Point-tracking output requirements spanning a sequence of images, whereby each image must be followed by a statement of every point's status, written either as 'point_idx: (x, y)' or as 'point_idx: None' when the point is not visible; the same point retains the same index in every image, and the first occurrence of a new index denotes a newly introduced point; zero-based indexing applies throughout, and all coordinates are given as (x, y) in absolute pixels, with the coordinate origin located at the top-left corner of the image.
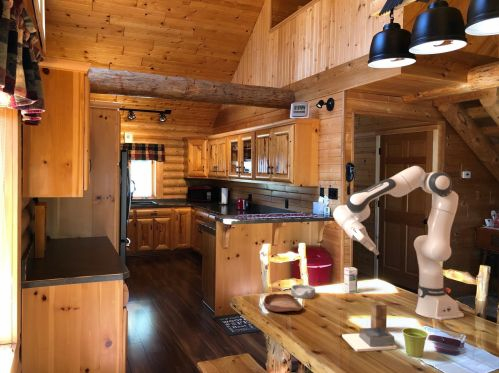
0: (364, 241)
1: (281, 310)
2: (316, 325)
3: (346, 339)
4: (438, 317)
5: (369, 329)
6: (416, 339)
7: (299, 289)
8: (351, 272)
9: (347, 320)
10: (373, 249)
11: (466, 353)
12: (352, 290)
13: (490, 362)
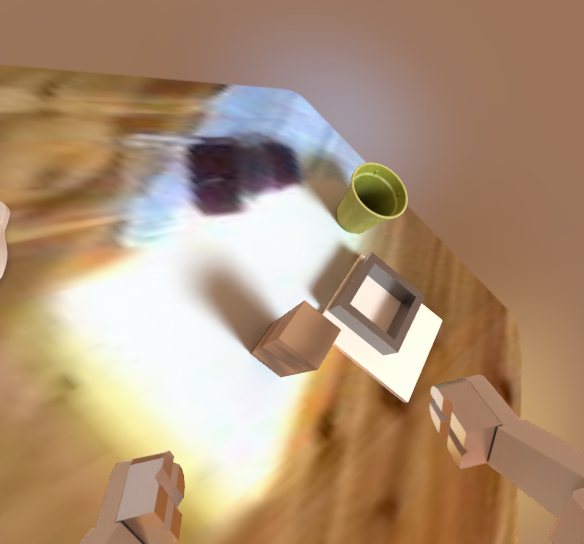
0: None
1: None
2: (400, 537)
3: (418, 373)
4: (5, 214)
5: (377, 327)
6: (394, 185)
7: None
8: None
9: (277, 490)
10: (440, 388)
11: (263, 130)
12: None
13: (274, 93)
